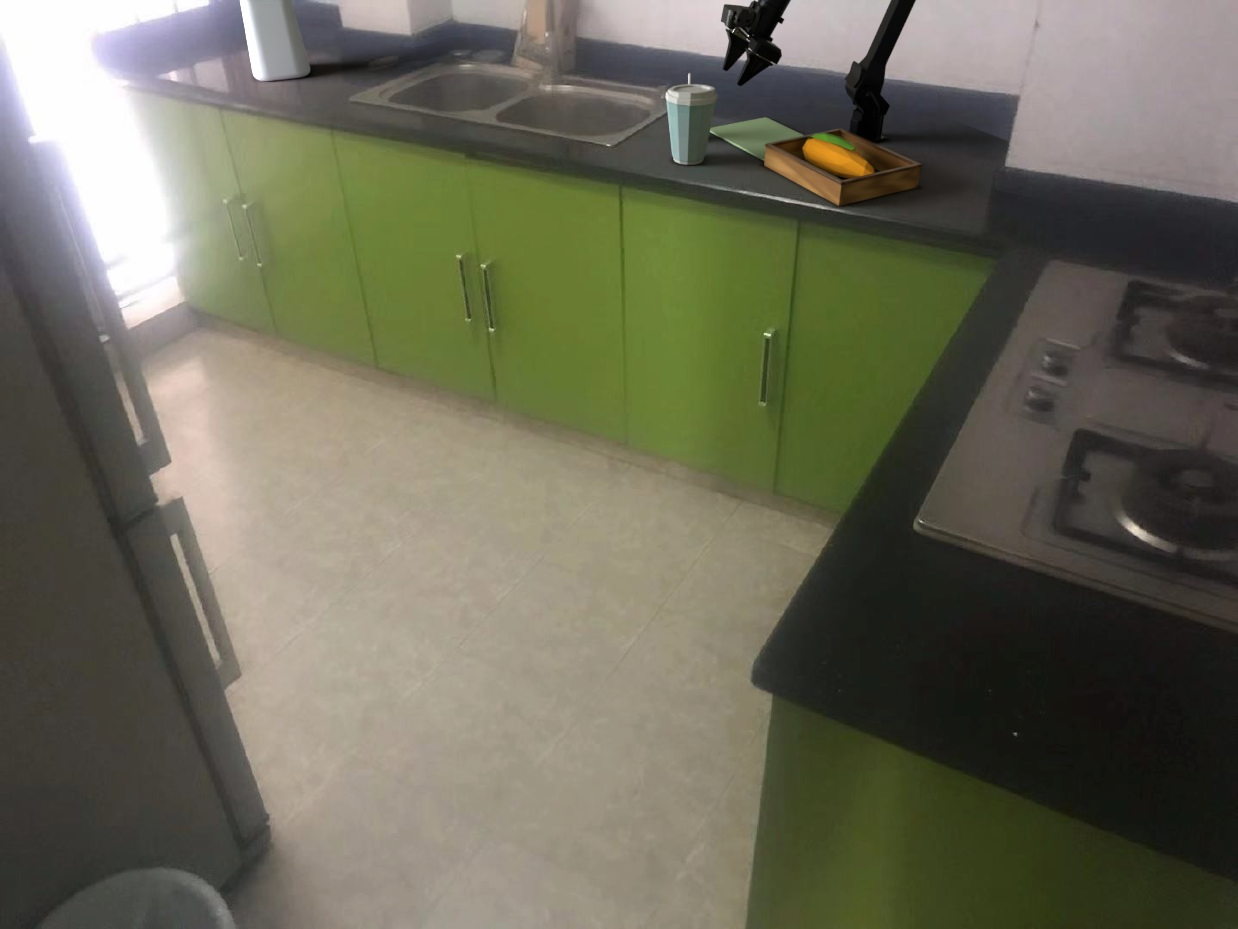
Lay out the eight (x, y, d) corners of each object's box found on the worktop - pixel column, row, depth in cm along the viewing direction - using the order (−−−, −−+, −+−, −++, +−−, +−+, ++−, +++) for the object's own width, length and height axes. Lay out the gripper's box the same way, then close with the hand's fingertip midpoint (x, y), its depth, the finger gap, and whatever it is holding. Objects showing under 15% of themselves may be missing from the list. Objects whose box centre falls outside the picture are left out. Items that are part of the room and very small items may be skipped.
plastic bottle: (312, 77, 258) (288, -38, 241) (254, 83, 254) (226, -33, 237) (308, 63, 269) (285, -47, 252) (253, 69, 266) (226, -43, 249)
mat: (765, 119, 221) (765, 116, 221) (828, 149, 204) (829, 146, 203) (706, 130, 215) (706, 128, 215) (766, 162, 198) (766, 160, 198)
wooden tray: (838, 149, 203) (840, 127, 201) (918, 187, 185) (922, 163, 183) (763, 165, 197) (764, 143, 194) (838, 206, 179) (841, 182, 176)
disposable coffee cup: (656, 156, 203) (656, 83, 194) (700, 148, 206) (703, 76, 197) (677, 171, 195) (679, 96, 186) (724, 163, 198) (727, 89, 189)
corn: (823, 120, 195) (891, 148, 181) (821, 157, 199) (887, 186, 186) (794, 130, 192) (861, 158, 178) (793, 166, 197) (858, 197, 183)
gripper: (725, -27, 193) (686, 46, 201) (756, -1, 180) (713, 76, 187) (767, -2, 198) (729, 68, 206) (801, 25, 185) (758, 99, 192)
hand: (731, 77), depth 198 cm, fingers open, 9 cm apart
